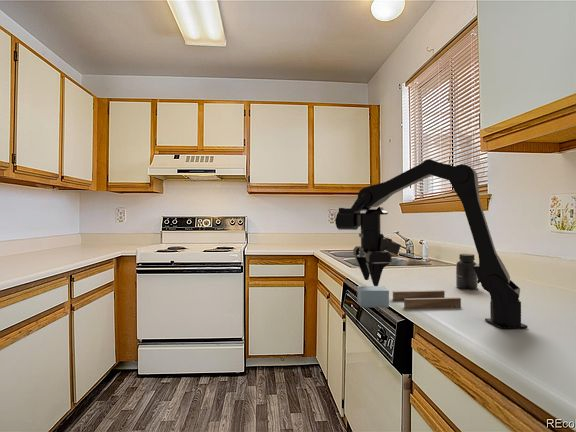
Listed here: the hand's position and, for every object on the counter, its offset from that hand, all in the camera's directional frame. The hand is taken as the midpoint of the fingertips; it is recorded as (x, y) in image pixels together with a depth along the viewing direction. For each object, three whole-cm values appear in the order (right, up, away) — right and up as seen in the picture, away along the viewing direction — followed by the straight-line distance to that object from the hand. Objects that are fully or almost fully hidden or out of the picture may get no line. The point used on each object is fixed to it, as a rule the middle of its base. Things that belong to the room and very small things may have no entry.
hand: (371, 282), depth 102 cm
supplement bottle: (+39, -6, +21) cm, 45 cm away
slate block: (0, -7, 0) cm, 7 cm away
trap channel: (+16, -6, +1) cm, 18 cm away
